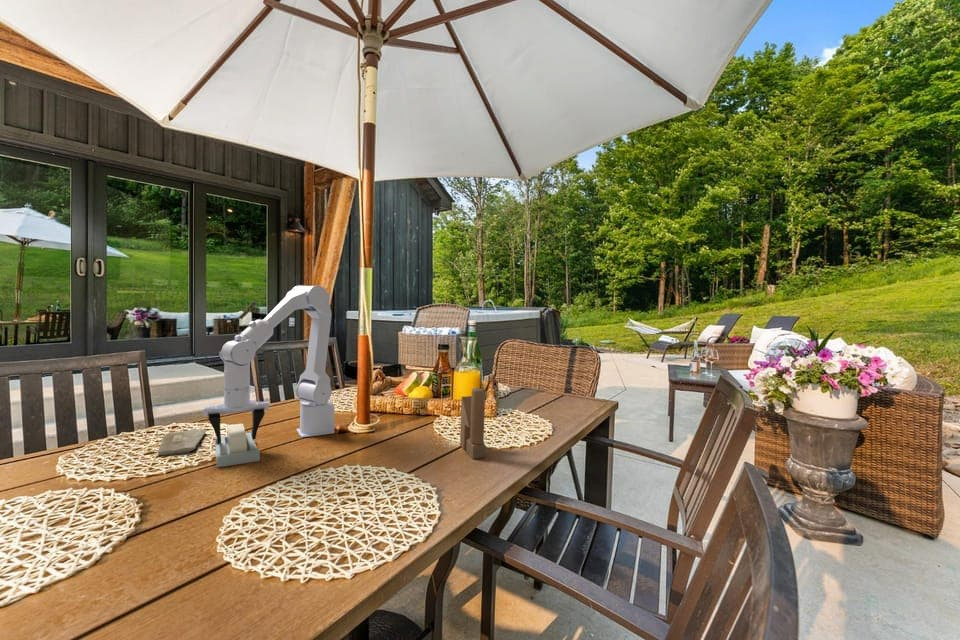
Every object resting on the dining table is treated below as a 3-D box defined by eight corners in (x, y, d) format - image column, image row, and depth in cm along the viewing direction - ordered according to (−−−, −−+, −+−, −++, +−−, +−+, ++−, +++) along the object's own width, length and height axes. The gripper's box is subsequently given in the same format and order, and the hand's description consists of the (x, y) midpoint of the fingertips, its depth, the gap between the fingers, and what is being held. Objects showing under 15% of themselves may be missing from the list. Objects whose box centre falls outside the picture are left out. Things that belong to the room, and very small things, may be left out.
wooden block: (471, 444, 123) (473, 382, 122) (485, 458, 113) (488, 390, 112) (459, 446, 122) (461, 383, 121) (472, 459, 112) (474, 391, 111)
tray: (253, 441, 119) (253, 430, 119) (259, 460, 106) (259, 448, 106) (215, 446, 114) (215, 435, 114) (217, 467, 101) (217, 455, 101)
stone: (165, 433, 122) (206, 425, 126) (166, 443, 122) (207, 435, 126) (151, 449, 105) (199, 440, 110) (153, 461, 106) (201, 451, 110)
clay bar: (227, 443, 114) (227, 425, 114) (242, 441, 116) (242, 423, 116) (230, 458, 104) (230, 438, 104) (246, 456, 106) (246, 436, 106)
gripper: (203, 393, 102) (203, 449, 103) (270, 388, 110) (270, 440, 111) (203, 388, 108) (203, 441, 109) (267, 383, 116) (266, 432, 117)
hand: (236, 440), depth 110 cm, fingers open, 7 cm apart
